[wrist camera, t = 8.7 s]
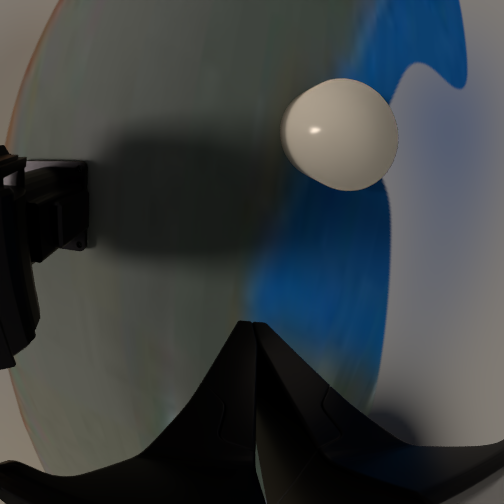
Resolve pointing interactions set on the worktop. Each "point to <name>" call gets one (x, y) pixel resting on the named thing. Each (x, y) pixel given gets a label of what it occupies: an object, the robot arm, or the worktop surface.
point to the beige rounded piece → (340, 134)
